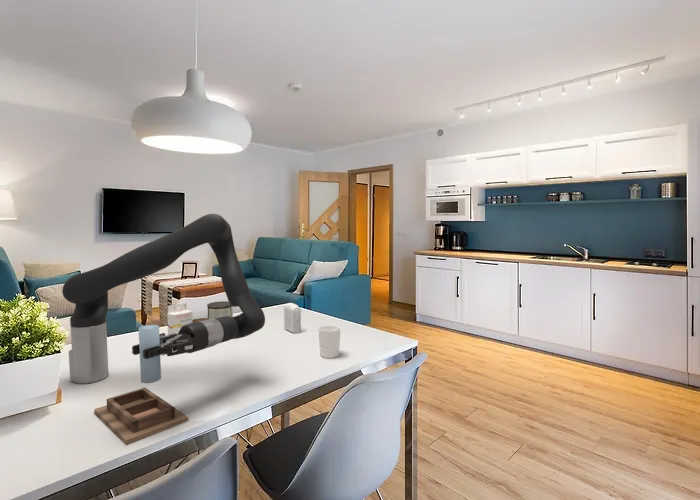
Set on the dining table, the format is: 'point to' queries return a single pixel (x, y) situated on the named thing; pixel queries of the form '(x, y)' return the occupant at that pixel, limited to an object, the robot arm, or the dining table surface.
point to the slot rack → (139, 415)
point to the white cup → (329, 341)
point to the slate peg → (151, 365)
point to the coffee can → (219, 310)
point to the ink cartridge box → (178, 317)
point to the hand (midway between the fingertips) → (138, 352)
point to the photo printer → (292, 318)
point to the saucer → (199, 320)
